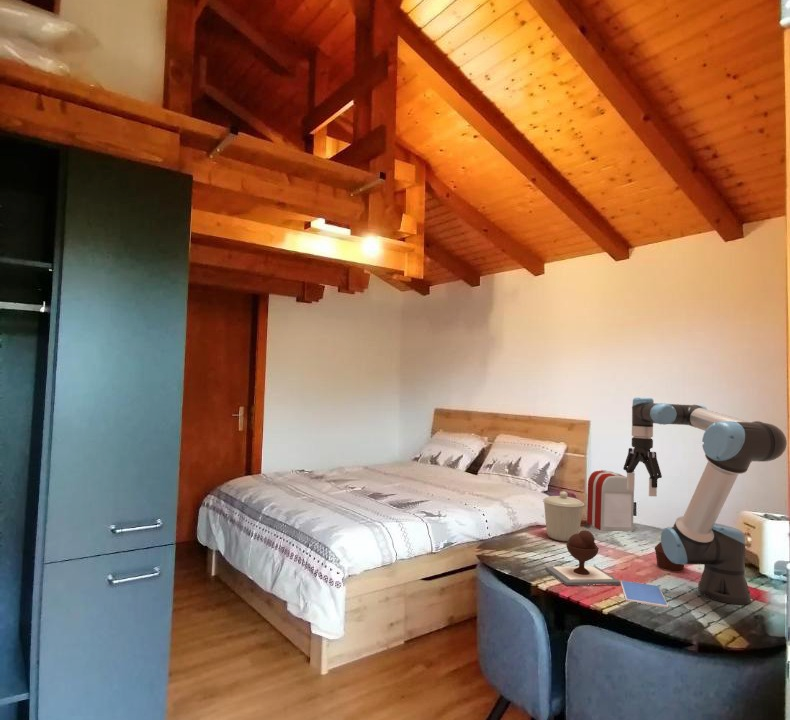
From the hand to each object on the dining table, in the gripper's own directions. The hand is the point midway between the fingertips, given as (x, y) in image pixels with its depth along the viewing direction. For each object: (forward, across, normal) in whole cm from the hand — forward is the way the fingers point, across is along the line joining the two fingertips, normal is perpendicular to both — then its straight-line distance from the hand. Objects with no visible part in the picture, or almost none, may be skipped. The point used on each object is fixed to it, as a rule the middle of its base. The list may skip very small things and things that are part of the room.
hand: (641, 492), depth 208 cm
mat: (+29, -9, +29) cm, 42 cm away
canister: (+28, +40, +11) cm, 50 cm away
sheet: (+27, -9, +29) cm, 41 cm away
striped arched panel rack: (+28, +60, -24) cm, 71 cm away
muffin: (+29, 0, -13) cm, 32 cm away
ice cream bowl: (+27, -9, +29) cm, 41 cm away
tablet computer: (+29, -25, +16) cm, 42 cm away
